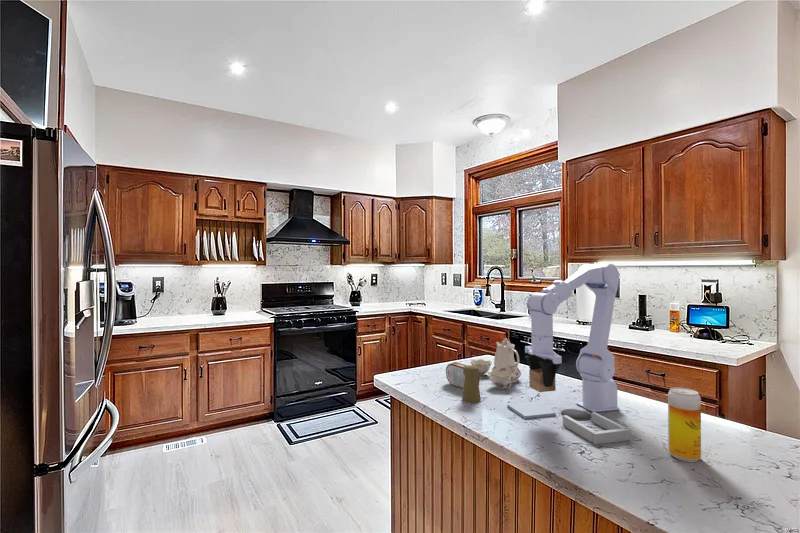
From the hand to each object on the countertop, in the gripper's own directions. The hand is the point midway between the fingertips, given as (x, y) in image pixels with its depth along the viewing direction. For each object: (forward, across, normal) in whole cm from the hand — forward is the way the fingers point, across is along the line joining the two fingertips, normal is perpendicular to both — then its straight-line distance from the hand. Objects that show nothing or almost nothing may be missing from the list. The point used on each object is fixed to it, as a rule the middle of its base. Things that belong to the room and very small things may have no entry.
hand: (542, 383), depth 113 cm
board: (+10, -7, +1) cm, 12 cm away
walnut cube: (+2, 0, 0) cm, 2 cm away
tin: (+11, -34, -10) cm, 37 cm away
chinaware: (+11, -39, +7) cm, 41 cm away
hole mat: (+10, -1, +12) cm, 16 cm away
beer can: (+11, +27, +18) cm, 35 cm away
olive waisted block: (+11, -21, -12) cm, 26 cm away
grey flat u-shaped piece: (+10, +10, +8) cm, 17 cm away
